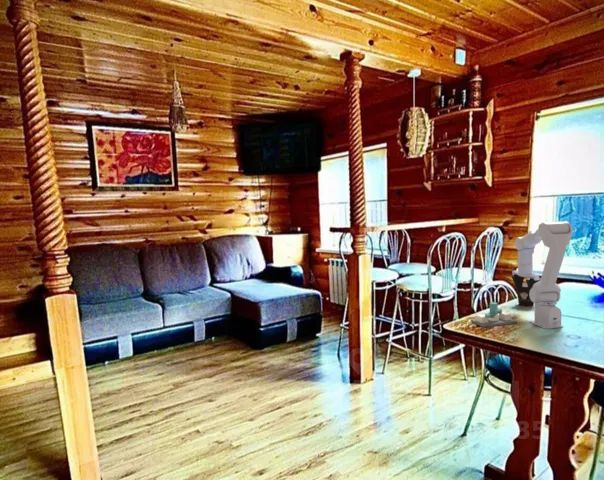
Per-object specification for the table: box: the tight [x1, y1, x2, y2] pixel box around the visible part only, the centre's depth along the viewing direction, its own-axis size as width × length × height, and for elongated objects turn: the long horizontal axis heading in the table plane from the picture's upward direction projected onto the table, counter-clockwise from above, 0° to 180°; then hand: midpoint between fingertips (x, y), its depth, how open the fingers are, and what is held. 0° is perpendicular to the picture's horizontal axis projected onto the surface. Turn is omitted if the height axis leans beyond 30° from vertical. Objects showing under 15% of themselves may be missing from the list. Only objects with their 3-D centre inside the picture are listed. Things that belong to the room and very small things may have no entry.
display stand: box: [470, 311, 518, 328], centre depth 170 cm, size 16×8×4 cm, turn 100°
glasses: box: [484, 301, 503, 318], centre depth 170 cm, size 13×4×5 cm, turn 132°
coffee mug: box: [516, 282, 535, 308], centre depth 192 cm, size 12×9×10 cm
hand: (525, 293), depth 180 cm, fingers open, 7 cm apart
